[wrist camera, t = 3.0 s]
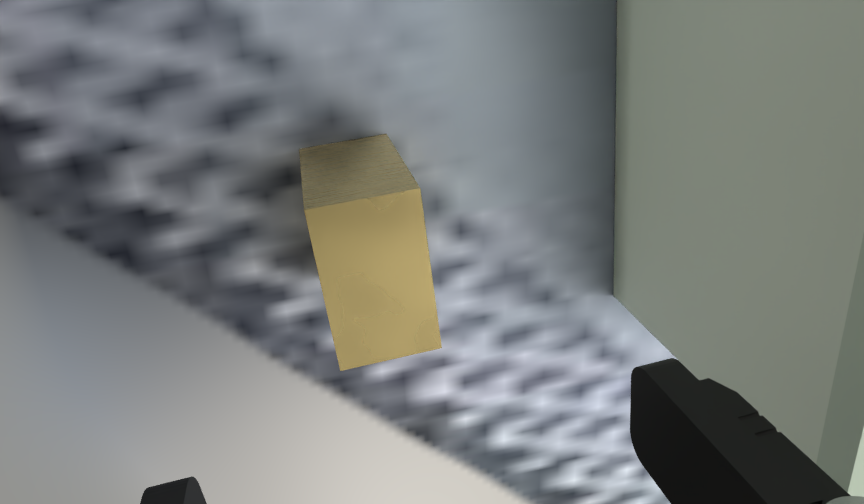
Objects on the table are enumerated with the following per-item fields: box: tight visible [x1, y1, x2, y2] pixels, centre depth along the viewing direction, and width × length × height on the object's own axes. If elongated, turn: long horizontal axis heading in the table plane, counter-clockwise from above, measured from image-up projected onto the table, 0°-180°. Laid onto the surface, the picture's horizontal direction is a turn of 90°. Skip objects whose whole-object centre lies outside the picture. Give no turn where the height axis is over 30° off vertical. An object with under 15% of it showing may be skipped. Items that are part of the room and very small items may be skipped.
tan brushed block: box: [299, 134, 442, 371], centre depth 19 cm, size 5×3×6 cm, turn 7°
